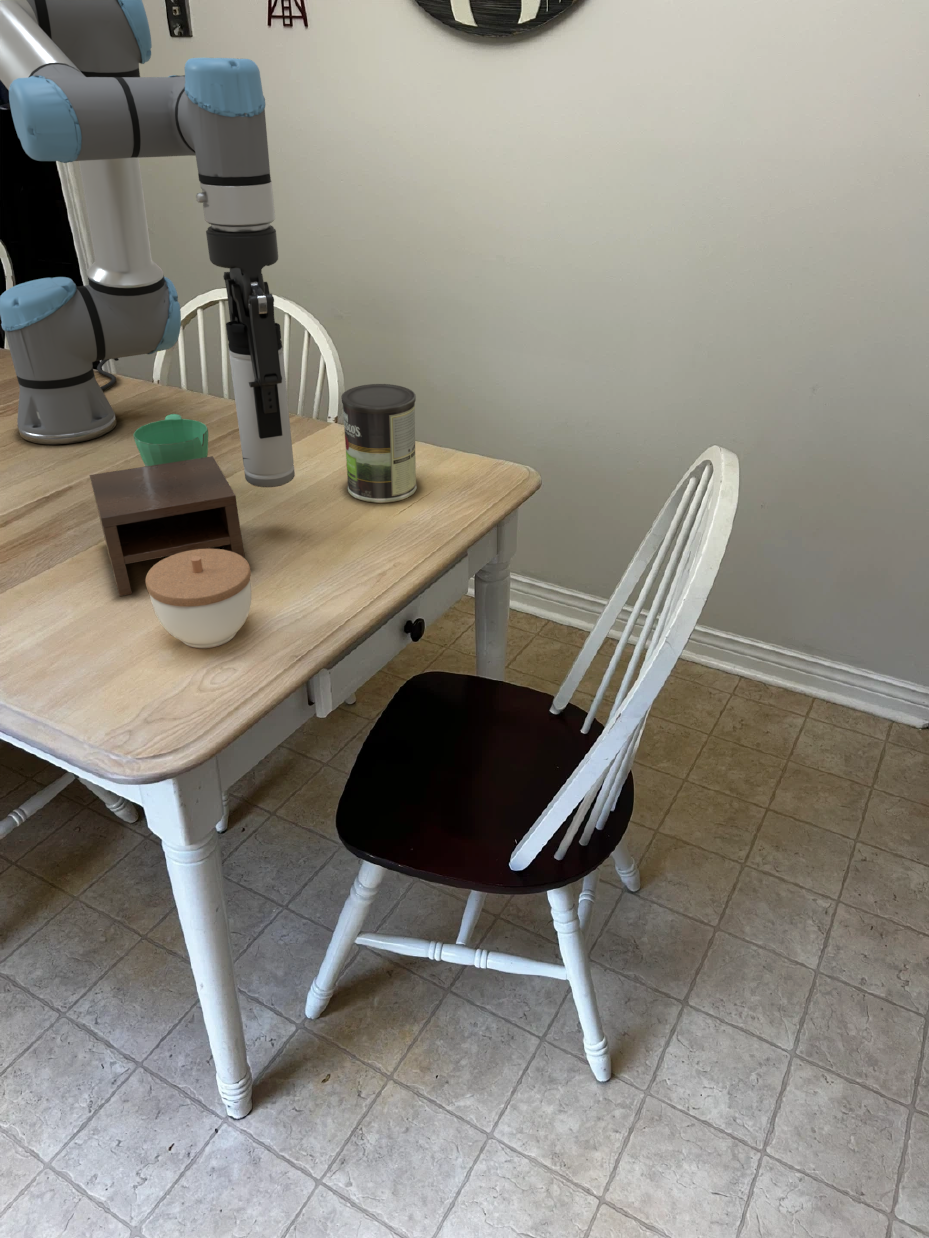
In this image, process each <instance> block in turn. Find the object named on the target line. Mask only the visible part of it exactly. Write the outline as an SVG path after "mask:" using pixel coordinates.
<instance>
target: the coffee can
mask: <svg viewBox="0 0 929 1238" xmlns="http://www.w3.org/2000/svg"><path fill="white" fill-rule="evenodd" d="M416 398H417V396H416V393H415V392H414V391H413V390H412V389H409V388H408V387H406V386H405V387H404V386H401V385H397V384H390V383H370V384H364V385H358V386H355V387H354V386H353V387H351V388H349V389H347V390H345V391H344V392H342V394H341V403H342V413H343V427H344V428H343V431H344V444H345V445H344V446H345V455H346V456H345V459H346V475H347V493H348V494H350V496H351V497H353V498H355V499H356V500H360V501H362V502H367V503H375V504H386V503H387V504H388V503H394V502H399V501H403V500H405V499H408V498H409V497H411V496H413V495H414V494H415V492H416V491H417V488H418V487H417V462H416V459H417V458H416V401H417V399H416Z"/></svg>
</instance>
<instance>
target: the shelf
mask: <svg viewBox="0 0 929 1238" xmlns="http://www.w3.org/2000/svg"><path fill="white" fill-rule="evenodd" d="M89 480H90V483H91V488H92V492H93V496H94V500H95V504H96V509H97V513H98V516H99V521H100V525H101V530H102V533H103V537H104V542H105V546H106V549H107V550H106V551H107V554H108V557H109V562H110V565H111V569H112V572H113V576H114V580H115V584H116V587H117V593H118V596H119V597H123V596H127V595H132V594H133V591H132V589H131V588H132V587H131V584H130V580H129V576H128V575H129V574H128V569H127V566H126V565H128V564H133V563H138V562H144V561H149V560H150V561H151V560H155V559H160V558H164V557H165V558H166V557H169V556H172V555H174V554H177V553H181V552H185V551H190V550H196V549H213V548H217V547H222V550H227V551H231V552H234V553H237V554H239V555H241V556H242V557H244V558H245V551H244V543H243V537H242V536H243V535H242V530H241V523H240V515H239V509H238V502H237V495H236V494H235V492H234V490H233V489H232V487H231V485H230V484H229V482H228V479H227V478H226V476H225V475H224V472H223V471H222V470H221V467H220V466H219V464H218V463H217V460H216V459H215V457H214V456H213V455H212V456H211V455H210V456H207V457H204V458H198V459H191V460H185V461H178V462H172V463H165V464H159V465H152V466H140V467H139V466H138V467H132V468H127V469H121V470H114V471H113V470H112V471H107V472H101V473H93V474H89ZM245 559H246V558H245Z"/></svg>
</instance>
